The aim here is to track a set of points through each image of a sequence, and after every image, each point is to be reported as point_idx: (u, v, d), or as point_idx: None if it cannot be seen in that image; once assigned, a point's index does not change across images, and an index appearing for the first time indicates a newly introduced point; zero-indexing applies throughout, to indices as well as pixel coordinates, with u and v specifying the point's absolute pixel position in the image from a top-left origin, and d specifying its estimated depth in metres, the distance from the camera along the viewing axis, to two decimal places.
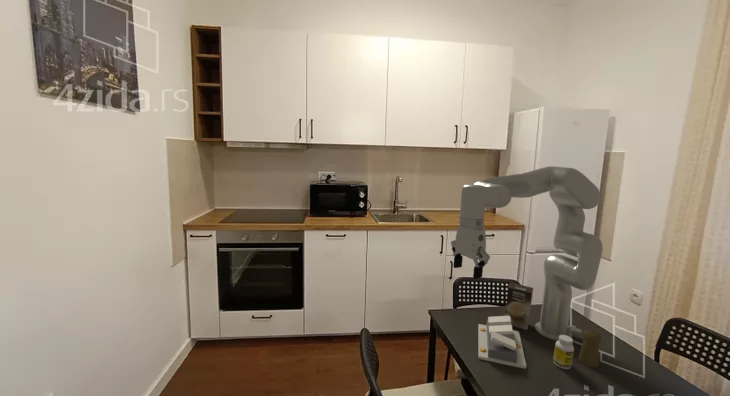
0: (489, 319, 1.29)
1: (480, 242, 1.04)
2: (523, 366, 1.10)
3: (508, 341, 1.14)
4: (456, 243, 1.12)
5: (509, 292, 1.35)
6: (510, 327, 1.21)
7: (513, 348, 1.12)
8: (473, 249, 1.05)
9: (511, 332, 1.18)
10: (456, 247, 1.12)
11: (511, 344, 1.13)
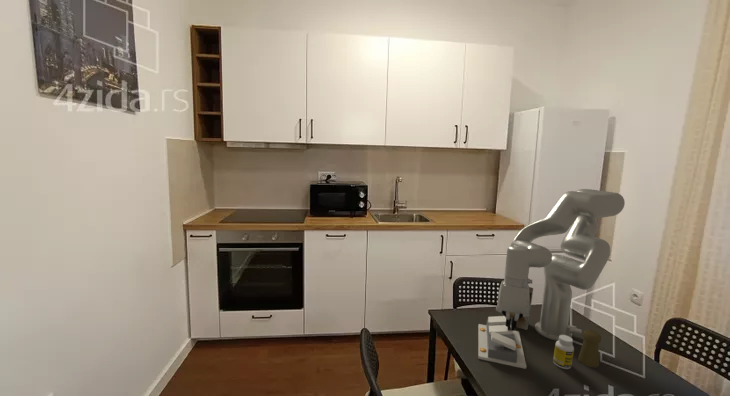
0: (489, 319, 1.29)
1: (529, 297, 1.16)
2: (523, 366, 1.10)
3: (508, 341, 1.14)
4: (502, 302, 1.18)
5: None
6: (510, 327, 1.21)
7: (513, 348, 1.12)
8: (527, 305, 1.15)
9: (511, 332, 1.18)
10: (502, 306, 1.18)
11: (511, 344, 1.13)
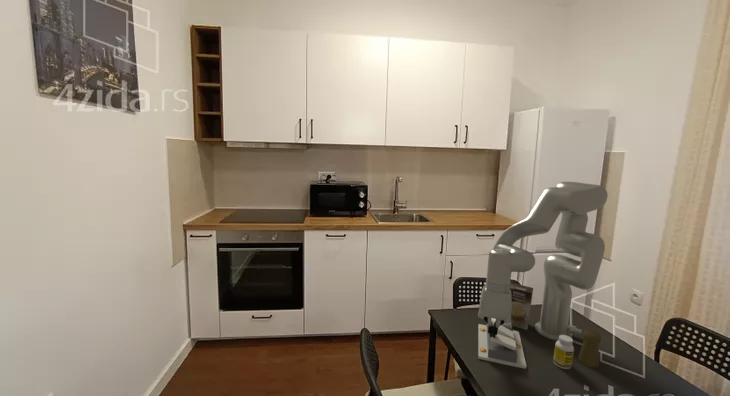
0: None
1: (511, 303, 1.12)
2: (523, 366, 1.10)
3: (508, 341, 1.14)
4: (483, 308, 1.13)
5: None
6: (512, 333, 1.21)
7: (513, 348, 1.12)
8: (509, 311, 1.11)
9: (512, 338, 1.19)
10: (483, 312, 1.13)
11: (511, 344, 1.13)
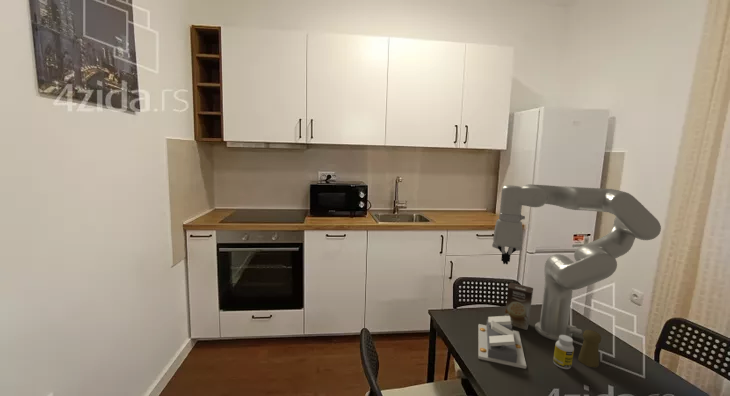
0: (489, 319, 1.29)
1: None
2: (523, 366, 1.10)
3: (506, 338, 1.14)
4: (497, 238, 1.29)
5: (509, 292, 1.35)
6: (512, 333, 1.21)
7: (512, 343, 1.12)
8: (520, 239, 1.26)
9: None
10: (497, 241, 1.29)
11: (508, 340, 1.13)
